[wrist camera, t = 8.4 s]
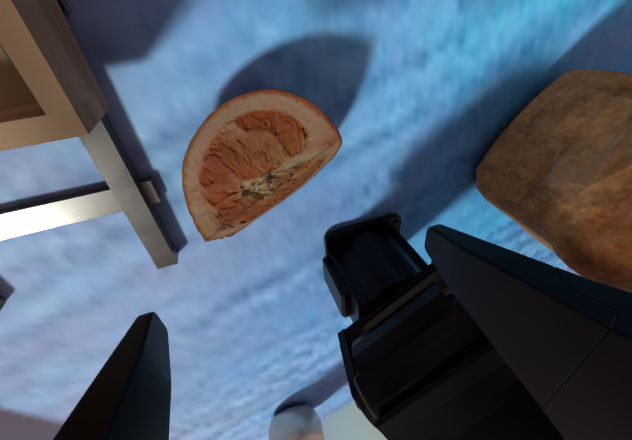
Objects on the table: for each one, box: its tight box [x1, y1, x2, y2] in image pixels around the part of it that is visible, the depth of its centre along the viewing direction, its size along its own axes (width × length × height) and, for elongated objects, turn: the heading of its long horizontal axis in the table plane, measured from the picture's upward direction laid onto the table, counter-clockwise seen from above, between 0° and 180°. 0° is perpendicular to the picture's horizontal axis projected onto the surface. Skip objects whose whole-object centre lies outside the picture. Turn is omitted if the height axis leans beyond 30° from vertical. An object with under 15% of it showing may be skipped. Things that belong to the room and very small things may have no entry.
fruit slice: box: [182, 90, 342, 242], centre depth 16 cm, size 8×7×5 cm
